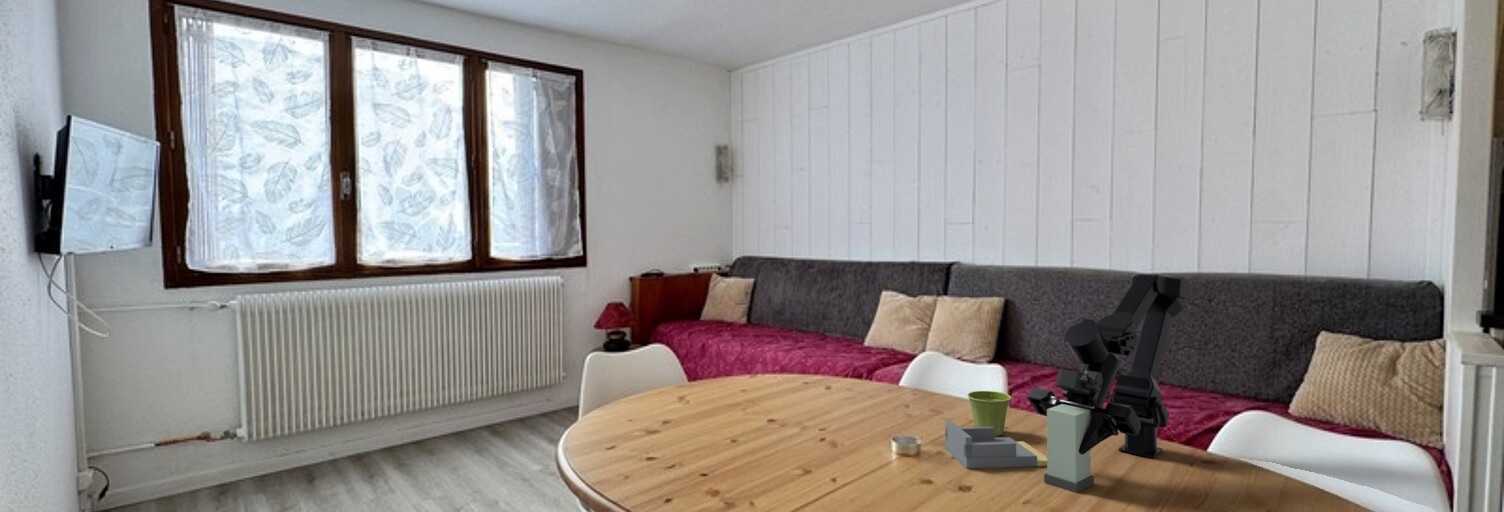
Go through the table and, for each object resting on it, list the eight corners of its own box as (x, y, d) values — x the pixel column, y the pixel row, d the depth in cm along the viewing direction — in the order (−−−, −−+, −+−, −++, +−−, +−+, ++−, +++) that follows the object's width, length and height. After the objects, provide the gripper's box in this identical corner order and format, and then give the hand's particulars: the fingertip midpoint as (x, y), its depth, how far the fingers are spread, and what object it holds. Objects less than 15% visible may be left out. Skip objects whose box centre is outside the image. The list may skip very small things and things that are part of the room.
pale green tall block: (1061, 474, 120) (1061, 403, 120) (1094, 484, 115) (1093, 410, 115) (1044, 482, 117) (1043, 409, 116) (1076, 492, 112) (1076, 416, 111)
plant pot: (1015, 440, 141) (1014, 401, 141) (970, 438, 143) (970, 400, 143) (1007, 428, 150) (1006, 391, 150) (965, 426, 152) (964, 390, 152)
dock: (1023, 446, 137) (1023, 418, 137) (1052, 465, 125) (1051, 435, 125) (945, 448, 137) (945, 420, 136) (966, 468, 125) (966, 438, 124)
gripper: (1031, 346, 125) (999, 412, 119) (1133, 360, 110) (1102, 436, 104) (1053, 380, 130) (1023, 445, 124) (1154, 398, 115) (1125, 473, 109)
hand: (1064, 449), depth 115 cm, fingers closed on pale green tall block, 5 cm apart
